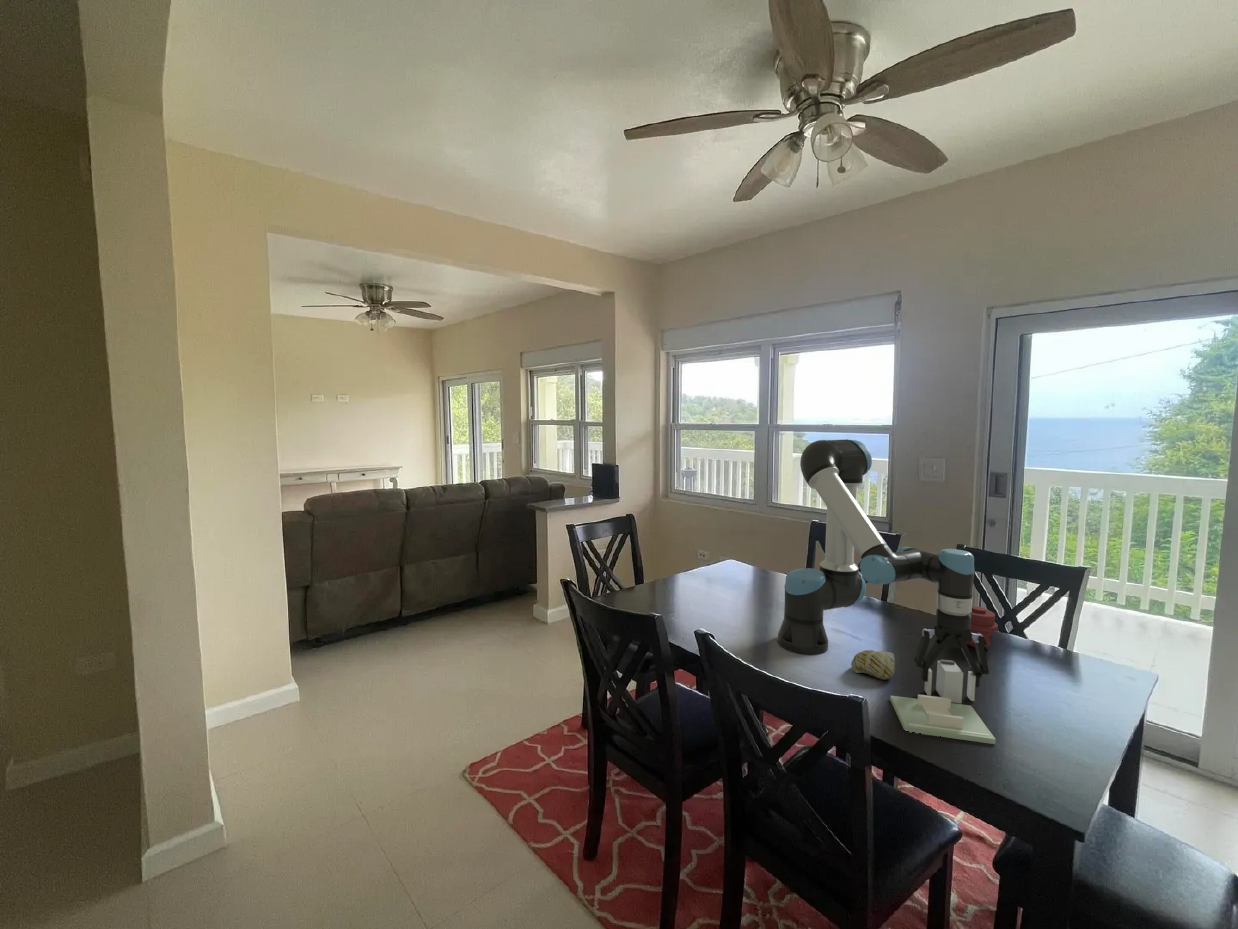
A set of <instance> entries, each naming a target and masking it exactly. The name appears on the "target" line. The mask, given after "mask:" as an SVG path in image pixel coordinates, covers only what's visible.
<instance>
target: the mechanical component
mask: <svg viewBox="0 0 1238 929" xmlns="http://www.w3.org/2000/svg"><path fill="white" fill-rule="evenodd" d="M970 615H971V628H970V631H971V633H975V634H976V633H980V634H981V635H982V636H983V637H984V638H985V641H984V647H988V646H990V645H991V640H992V637H991V636H992V633H995V632H997V631H998V626H999V625H998V623H997V622H996V614H995V612H993V611H990V610H989V609H987V608H985V607H982V606H974V605H972V612H971V613H970ZM966 645H967V646H968V647H973V648H974V649H976V648H975V642H974V641H973V639H972V638H971V639H970V640H969V641H968V642H967V643H966Z"/></svg>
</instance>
